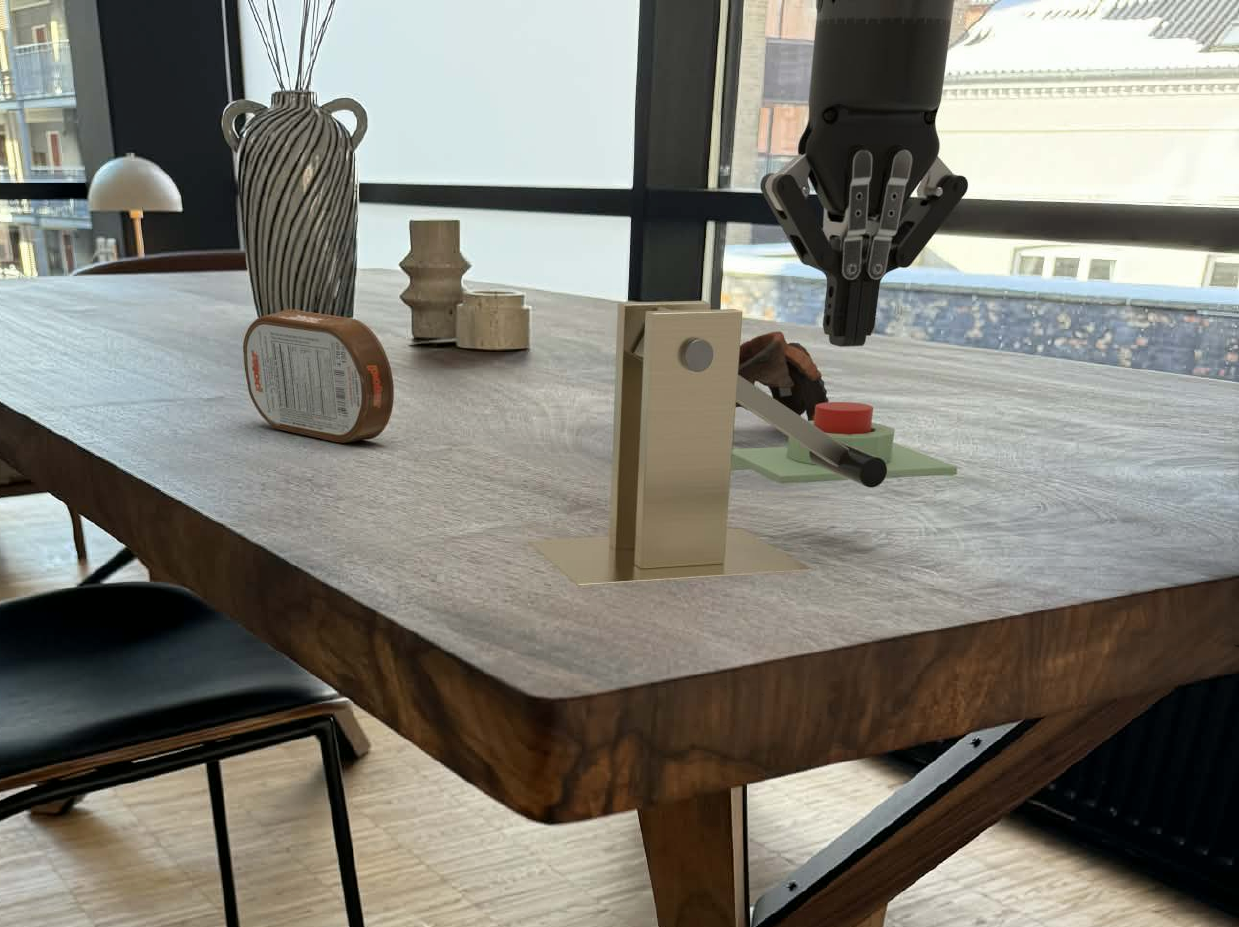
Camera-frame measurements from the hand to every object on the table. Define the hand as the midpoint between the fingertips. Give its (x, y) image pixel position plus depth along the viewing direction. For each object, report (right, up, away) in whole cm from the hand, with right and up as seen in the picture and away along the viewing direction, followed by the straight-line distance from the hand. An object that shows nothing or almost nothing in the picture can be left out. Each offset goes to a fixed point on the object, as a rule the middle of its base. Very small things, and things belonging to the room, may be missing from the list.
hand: (846, 344), depth 94 cm
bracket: (-13, -19, -17) cm, 29 cm away
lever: (-9, -12, -20) cm, 25 cm away
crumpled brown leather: (-1, +1, +20) cm, 20 cm away
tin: (-35, +1, +20) cm, 40 cm away
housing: (0, -7, +4) cm, 9 cm away
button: (0, -5, +3) cm, 5 cm away
